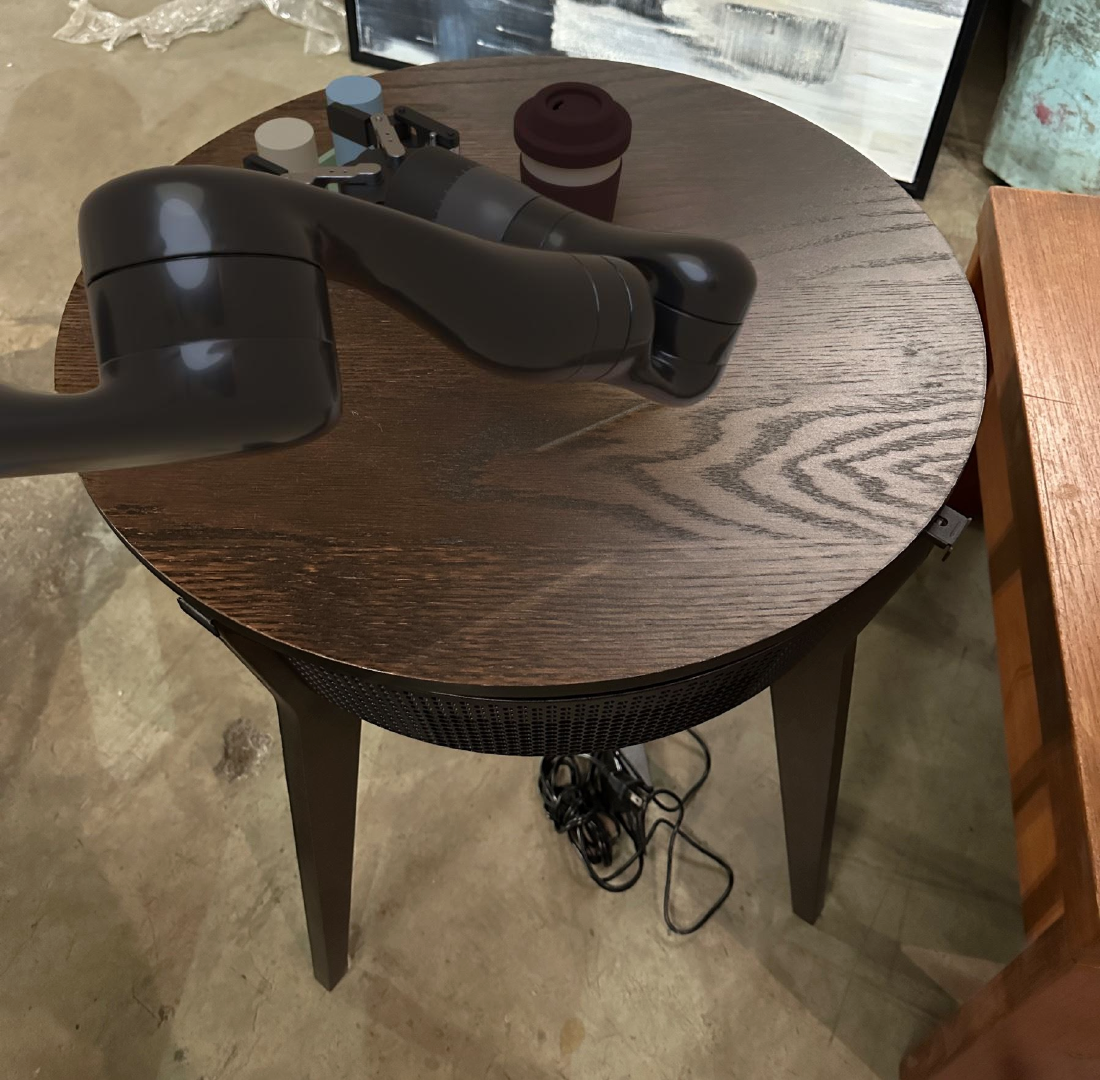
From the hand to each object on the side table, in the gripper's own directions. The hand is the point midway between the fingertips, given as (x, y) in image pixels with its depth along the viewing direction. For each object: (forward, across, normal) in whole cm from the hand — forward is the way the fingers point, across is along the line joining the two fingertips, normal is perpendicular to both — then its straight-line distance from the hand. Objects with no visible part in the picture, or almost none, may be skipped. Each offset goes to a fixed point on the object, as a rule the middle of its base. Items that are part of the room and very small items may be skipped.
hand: (290, 140), depth 74 cm
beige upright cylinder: (+11, -9, +18) cm, 23 cm away
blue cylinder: (+11, -18, +18) cm, 28 cm away
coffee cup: (-10, -22, +18) cm, 30 cm away
